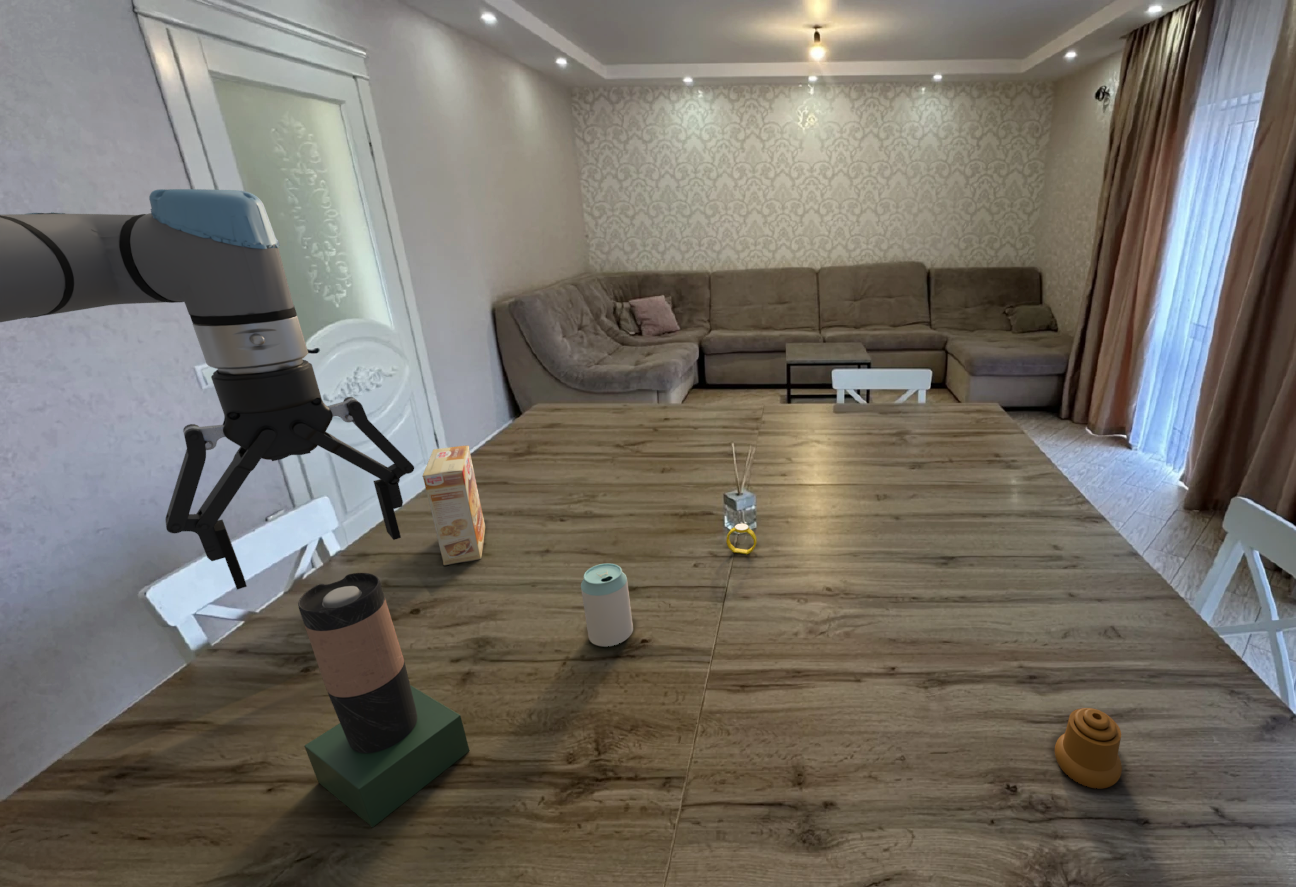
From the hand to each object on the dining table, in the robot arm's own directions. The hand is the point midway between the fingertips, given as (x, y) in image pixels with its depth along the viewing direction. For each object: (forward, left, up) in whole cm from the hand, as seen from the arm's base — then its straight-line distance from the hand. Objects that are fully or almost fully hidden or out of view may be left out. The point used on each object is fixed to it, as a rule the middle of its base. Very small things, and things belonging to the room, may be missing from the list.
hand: (322, 557), depth 65 cm
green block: (0, -1, -30) cm, 30 cm away
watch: (+64, +6, -30) cm, 72 cm away
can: (+32, +2, -30) cm, 44 cm away
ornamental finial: (+60, -63, -30) cm, 92 cm away
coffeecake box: (+26, +50, -30) cm, 64 cm away
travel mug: (0, -1, -24) cm, 24 cm away
